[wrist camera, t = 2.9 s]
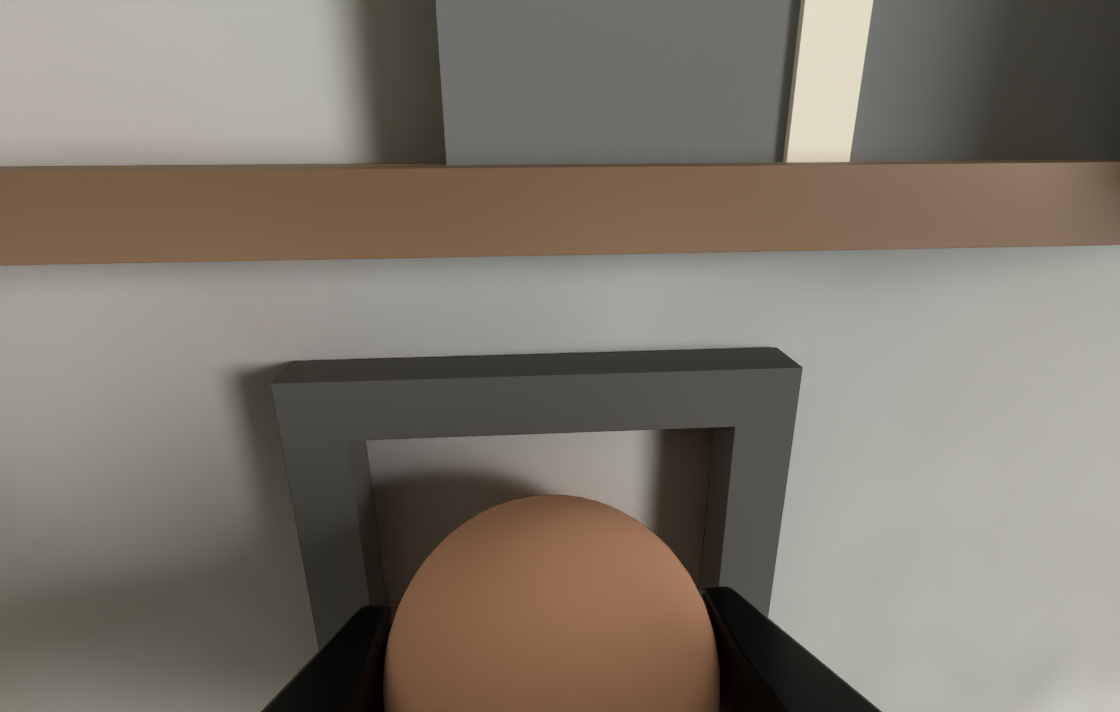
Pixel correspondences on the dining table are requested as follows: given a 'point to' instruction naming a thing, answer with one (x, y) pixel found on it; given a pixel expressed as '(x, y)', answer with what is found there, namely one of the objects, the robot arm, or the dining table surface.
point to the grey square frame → (532, 408)
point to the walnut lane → (545, 209)
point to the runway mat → (778, 80)
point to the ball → (551, 618)
